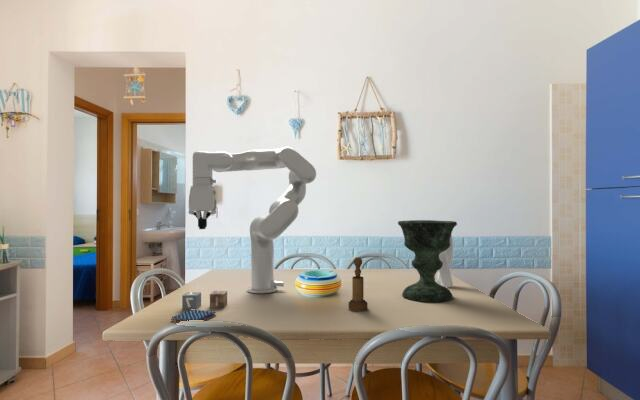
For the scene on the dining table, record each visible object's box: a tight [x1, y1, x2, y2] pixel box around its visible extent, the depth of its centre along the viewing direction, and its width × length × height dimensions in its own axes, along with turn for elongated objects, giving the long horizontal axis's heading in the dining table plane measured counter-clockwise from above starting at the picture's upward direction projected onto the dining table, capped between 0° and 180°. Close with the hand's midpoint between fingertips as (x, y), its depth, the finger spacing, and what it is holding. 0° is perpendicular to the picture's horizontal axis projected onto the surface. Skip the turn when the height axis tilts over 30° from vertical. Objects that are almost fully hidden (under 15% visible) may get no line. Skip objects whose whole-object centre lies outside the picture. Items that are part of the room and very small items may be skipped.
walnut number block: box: [209, 290, 228, 309], centre depth 137 cm, size 5×5×5 cm
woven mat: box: [170, 309, 217, 323], centre depth 122 cm, size 10×11×2 cm
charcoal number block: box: [181, 291, 202, 311], centre depth 135 cm, size 5×5×5 cm
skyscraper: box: [434, 234, 454, 288], centre depth 170 cm, size 8×8×28 cm
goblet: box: [397, 219, 458, 303], centre depth 150 cm, size 22×23×30 cm
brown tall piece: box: [348, 257, 369, 312], centre depth 133 cm, size 7×6×18 cm
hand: (202, 228), depth 150 cm, fingers closed
